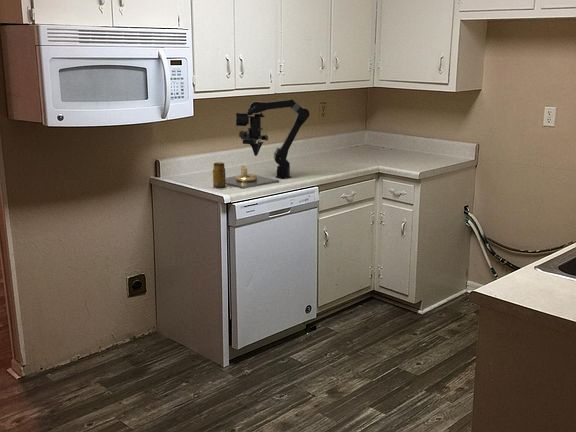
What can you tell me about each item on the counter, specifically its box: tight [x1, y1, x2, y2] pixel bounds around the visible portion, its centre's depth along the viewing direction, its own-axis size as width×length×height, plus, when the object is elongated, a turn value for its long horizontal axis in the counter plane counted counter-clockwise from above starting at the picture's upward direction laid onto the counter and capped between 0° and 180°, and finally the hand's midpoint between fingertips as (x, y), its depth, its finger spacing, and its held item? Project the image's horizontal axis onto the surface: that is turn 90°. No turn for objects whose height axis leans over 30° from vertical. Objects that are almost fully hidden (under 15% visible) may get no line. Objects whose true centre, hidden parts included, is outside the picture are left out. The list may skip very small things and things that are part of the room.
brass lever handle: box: [235, 165, 258, 181], centre depth 329 cm, size 12×16×5 cm
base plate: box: [225, 173, 280, 189], centre depth 327 cm, size 24×24×1 cm
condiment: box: [210, 162, 231, 190], centre depth 313 cm, size 7×8×12 cm
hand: (255, 155), depth 334 cm, fingers closed
